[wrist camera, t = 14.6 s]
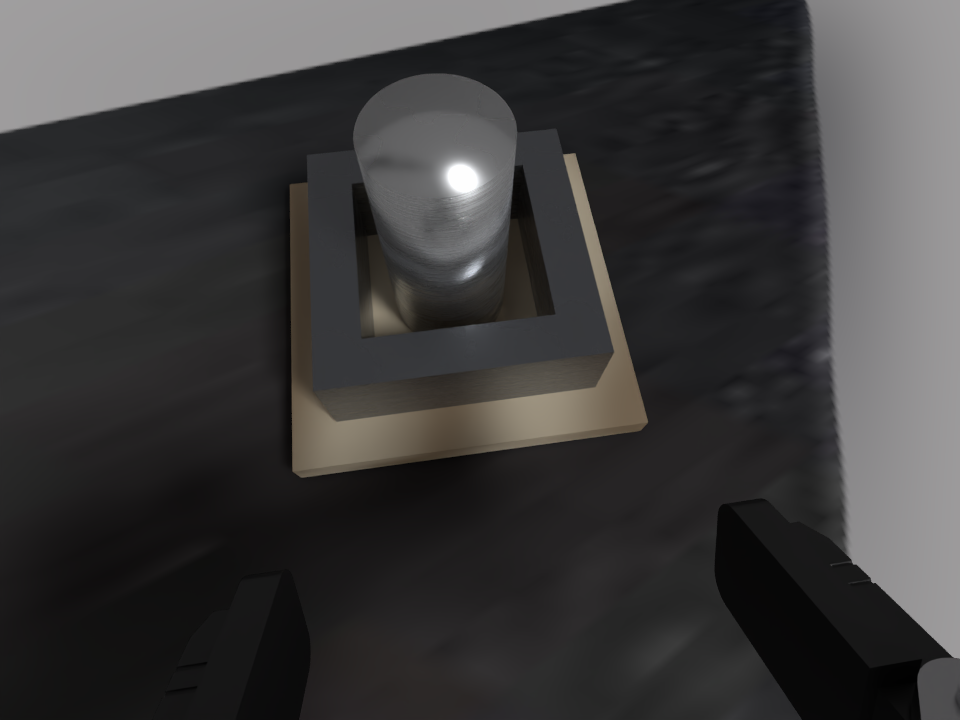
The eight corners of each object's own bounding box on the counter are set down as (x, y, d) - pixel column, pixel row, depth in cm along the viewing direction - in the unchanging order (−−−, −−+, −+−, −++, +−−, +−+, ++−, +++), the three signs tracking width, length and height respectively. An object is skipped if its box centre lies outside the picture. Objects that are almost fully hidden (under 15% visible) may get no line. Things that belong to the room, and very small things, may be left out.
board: (301, 477, 19) (292, 471, 18) (297, 200, 24) (289, 184, 23) (640, 430, 20) (648, 422, 19) (571, 170, 25) (575, 153, 24)
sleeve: (336, 422, 19) (312, 391, 16) (327, 209, 23) (307, 155, 20) (595, 387, 20) (614, 352, 17) (546, 185, 23) (556, 128, 20)
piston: (400, 349, 20) (356, 205, 13) (393, 257, 22) (350, 80, 14) (510, 337, 20) (528, 188, 13) (495, 246, 22) (504, 67, 15)
